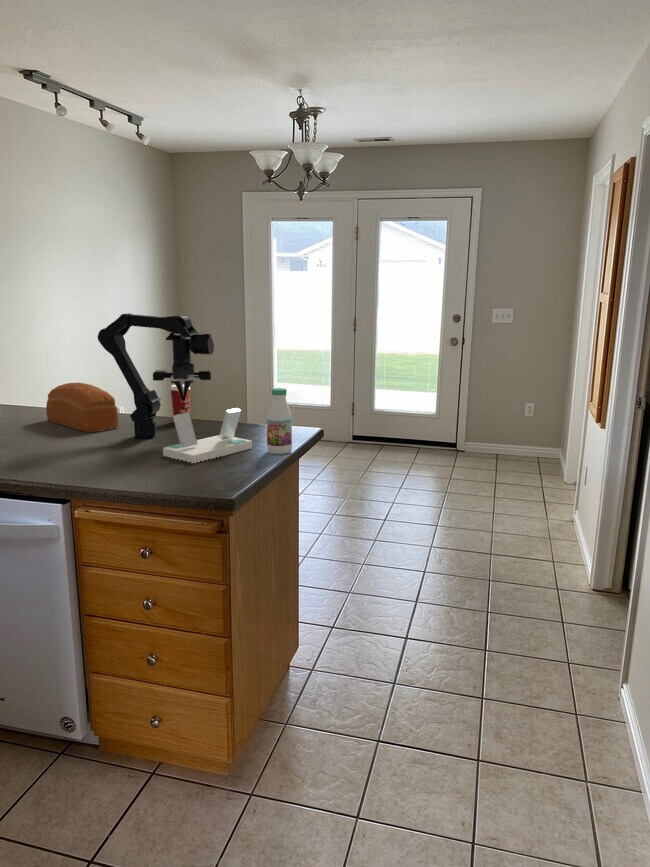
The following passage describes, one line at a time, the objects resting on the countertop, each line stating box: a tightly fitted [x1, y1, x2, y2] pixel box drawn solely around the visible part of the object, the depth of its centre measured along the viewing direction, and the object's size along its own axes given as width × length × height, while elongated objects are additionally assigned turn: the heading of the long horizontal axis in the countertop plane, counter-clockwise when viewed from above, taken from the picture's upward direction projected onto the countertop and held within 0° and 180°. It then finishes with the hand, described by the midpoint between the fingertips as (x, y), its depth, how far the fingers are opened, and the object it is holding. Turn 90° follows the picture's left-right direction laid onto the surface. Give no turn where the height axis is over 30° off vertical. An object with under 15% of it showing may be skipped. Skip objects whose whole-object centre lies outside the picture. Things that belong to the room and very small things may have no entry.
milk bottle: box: [266, 387, 293, 456], centre depth 202 cm, size 8×8×20 cm
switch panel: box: [162, 434, 253, 464], centre depth 204 cm, size 14×24×3 cm, turn 141°
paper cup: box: [169, 383, 191, 416], centre depth 246 cm, size 8×8×14 cm
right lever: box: [218, 407, 242, 440], centre depth 207 cm, size 2×5×10 cm, turn 142°
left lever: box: [172, 413, 198, 448], centre depth 197 cm, size 2×5×10 cm, turn 141°
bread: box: [45, 382, 119, 433], centre depth 241 cm, size 14×33×16 cm, turn 48°
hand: (183, 400), depth 218 cm, fingers closed
